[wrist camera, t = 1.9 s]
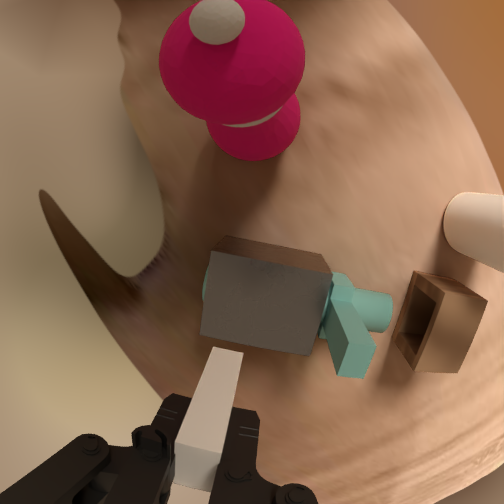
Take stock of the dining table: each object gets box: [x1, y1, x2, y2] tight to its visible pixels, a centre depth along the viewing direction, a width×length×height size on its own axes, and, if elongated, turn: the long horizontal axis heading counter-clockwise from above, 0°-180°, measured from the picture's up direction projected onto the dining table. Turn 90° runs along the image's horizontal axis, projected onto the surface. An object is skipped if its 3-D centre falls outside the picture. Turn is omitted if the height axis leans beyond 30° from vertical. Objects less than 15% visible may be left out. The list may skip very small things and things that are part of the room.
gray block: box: [199, 236, 333, 356], centre depth 26 cm, size 7×9×7 cm
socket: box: [392, 271, 488, 373], centre depth 25 cm, size 8×6×7 cm
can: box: [443, 192, 504, 273], centre depth 20 cm, size 6×6×12 cm
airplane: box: [202, 265, 393, 379], centre depth 22 cm, size 16×5×11 cm, turn 79°
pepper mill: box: [159, 0, 305, 161], centre depth 16 cm, size 7×7×20 cm
